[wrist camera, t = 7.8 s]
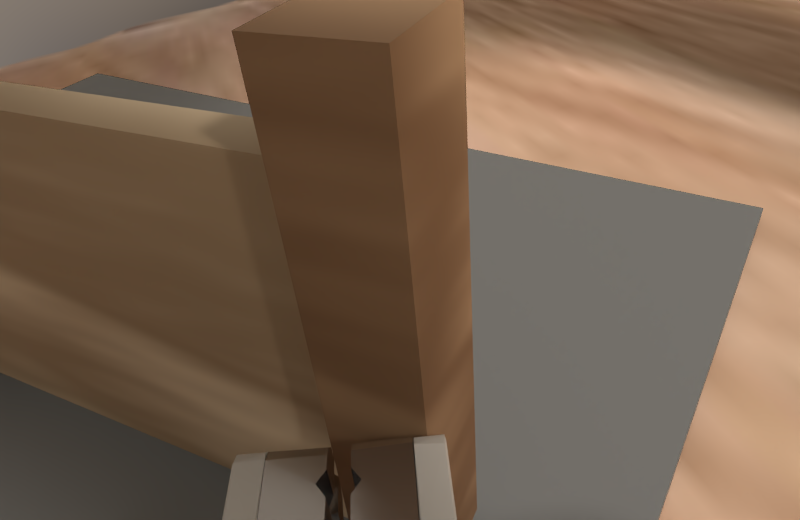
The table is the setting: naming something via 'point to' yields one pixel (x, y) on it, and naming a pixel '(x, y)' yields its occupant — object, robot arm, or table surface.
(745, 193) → the table surface
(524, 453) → the board
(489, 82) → the table surface
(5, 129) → the fence panel
